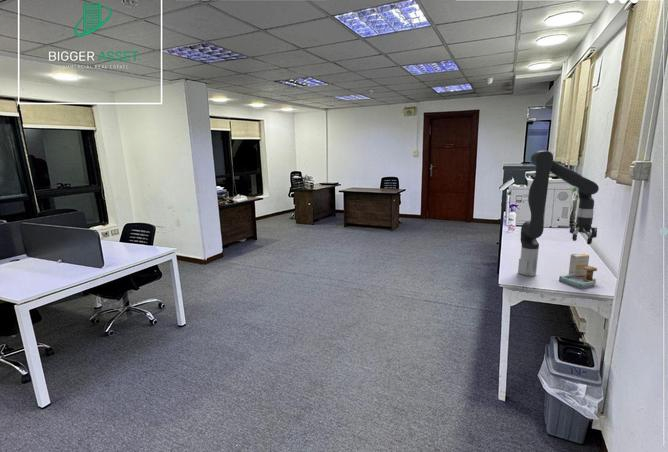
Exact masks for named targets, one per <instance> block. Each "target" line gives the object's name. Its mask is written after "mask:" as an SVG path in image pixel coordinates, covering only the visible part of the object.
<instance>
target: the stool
mask: <svg viewBox="0 0 668 452" xmlns="http://www.w3.org/2000/svg"><path fill="white" fill-rule="evenodd" d="M584 269H585V270H587V274H586V276H583V277H582V280H584V281H587V282H591V281H594V282H595V283H596V281H597V280H596V279H595V278H594V277H593V276H594V272H597V271H598V268H597V267H595V266H591V265H588V266H585V267H584Z"/></svg>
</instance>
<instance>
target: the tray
mask: <svg viewBox="0 0 668 452" xmlns="http://www.w3.org/2000/svg"><path fill="white" fill-rule="evenodd" d="M558 281H559V282H562V283H565V284H567V285H569V286H573V287H575V288H578V289H581V290H583V289H588V288H592V287H595V284H596V281H595V282H594V281H591V282H587V281H584V280H583V279H580V278H578V277H576V276H574V274H569V273H568V274H565V275H561V276H559V279H558Z"/></svg>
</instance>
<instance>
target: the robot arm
mask: <svg viewBox="0 0 668 452" xmlns="http://www.w3.org/2000/svg"><path fill="white" fill-rule="evenodd" d="M530 161H531V164H532V165H533V166H535V175H534V178H533V180H532V182H531V184H530V186H529V190H528V197H527V202H528V206H529V207H528V208H529V211H530V220H527V221H524V222H523V224H521V229H520V244H521V248H520V258H518V267H517V274H520V275H523V276H524V277H535V276H537V269H538V261H539V260H538V258H539V248H540V243H539V242H538V240H537V239H538V238H540V237H541V236H542V235H543V234H544V228H545V227H544V224H545V223H544V222H545V219H544V218H545V210H546V203H547V202H546V201H547V195H548V190H549V188H548V187H549V179H550V174H553V175H555V176H556V177H558V178H559V179H560V180H563V181H564V182H566V183H567V184H569V185H571V186H572V187H574V188H575V187H576V188H578V189H577V191H578V199H579V203H578V207H577V208H578V209H577V213H576V221H575V223H574V222H573V223H571V224H570V229H569V233H570V234H572V239H571V240H572V241H573V242H576V241H577V240H578V239H577V238H578V234H579V233H582V234H585V235H586V236H587V240H586V244H587V245H591V244H592V242H593V239H595V238H597V235H598V227H597V226H596V227H593V226H592V224H593V219H594V206H595V199H594V198H593V196H592V195H595V194H596V193H598V192H599V190H600V188H599V185H598V184H597V183H596V182H594V181H592V180H591V179H588V178H587V177H584V176H582V175H581V174H580V173H578V172H577V171H575V170H573V169H572V168H569V167H567V166H565V165H563V164H561V163H558V162H556V161H555V160H554V155H553V153H552V152H551V151H549V150H537V151H535V152H534V153H533V154H532V155H531V156H530Z"/></svg>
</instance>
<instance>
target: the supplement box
mask: <svg viewBox="0 0 668 452" xmlns="http://www.w3.org/2000/svg"><path fill="white" fill-rule="evenodd" d="M569 258H570V259H569V268H568V269H569V270H568V275H569V274H574V277H586V274H587V270H585V269H584V267H585V266H589V261H590V255H589V254H586V253H571V254H570V257H569Z"/></svg>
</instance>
